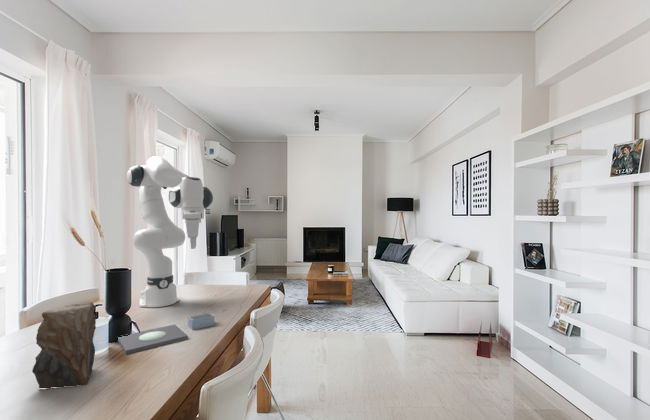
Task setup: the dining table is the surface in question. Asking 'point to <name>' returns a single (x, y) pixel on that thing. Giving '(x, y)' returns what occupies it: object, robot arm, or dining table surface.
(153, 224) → the robot arm
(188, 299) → the dining table surface
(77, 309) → the brown rock
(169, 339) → the charging mat
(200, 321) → the phone
